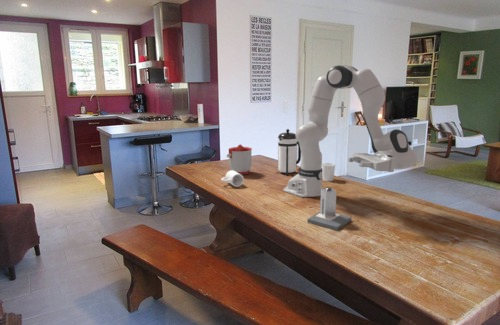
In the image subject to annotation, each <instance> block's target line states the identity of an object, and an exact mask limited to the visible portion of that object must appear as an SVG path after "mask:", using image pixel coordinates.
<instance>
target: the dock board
mask: <svg viewBox="0 0 500 325" xmlns="http://www.w3.org/2000/svg"><path fill="white" fill-rule="evenodd" d="M351 221H352V216H348V215H345V214H340V213H337V212H336V213H335V217H330V218H324V217H323V216H322V215H321V214H320V211H319V212H317V213H315V214H313V215H312V216H310V217H308V218H307V223H310V224H312V225H316V226H320V227H323V228H326V229H330V230H334V231H338V230H339V229H341V228H342V227H343V226H345V225H347V224H348V223H349V222H351Z"/></svg>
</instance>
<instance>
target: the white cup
mask: <svg viewBox="0 0 500 325" xmlns="http://www.w3.org/2000/svg"><path fill="white" fill-rule="evenodd" d="M335 168H336V164H335V163H333V162H331V163H330V162H324V163H322V181H323V182H324V181H325V182H333V181H334V178H335V177H334V176H335V170H336V169H335Z"/></svg>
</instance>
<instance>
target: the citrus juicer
mask: <svg viewBox="0 0 500 325" xmlns="http://www.w3.org/2000/svg"><path fill="white" fill-rule="evenodd" d="M252 149H253V148H252V147H248V146H243V145H242V144H241V143H239V144H238V145H237V146H233V147H229V148H228V154H227V155H226V158H227V159H229V160H228V161H229V162H228V164H229V167H230V171H231V170H234V171H236V172H237V173H239V174H241V175H242V176H244V175H248V174H249V173H250V171H251V167H252V163H253V162H252V158H253V157H252V156H253V155H252Z"/></svg>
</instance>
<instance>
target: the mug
mask: <svg viewBox="0 0 500 325" xmlns="http://www.w3.org/2000/svg"><path fill="white" fill-rule="evenodd" d="M244 179H245V178H244V175H241V174H239V173H237V172H236V171H234V170H231V169H230V170H229V171H227V172H226V174H225V176H224V177H222V178H221V181H222V182H224V183H229V184H230V185H231V186H233V187H236V188H239V187H241V186H242V185H243V184H244V181H245V180H244Z"/></svg>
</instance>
